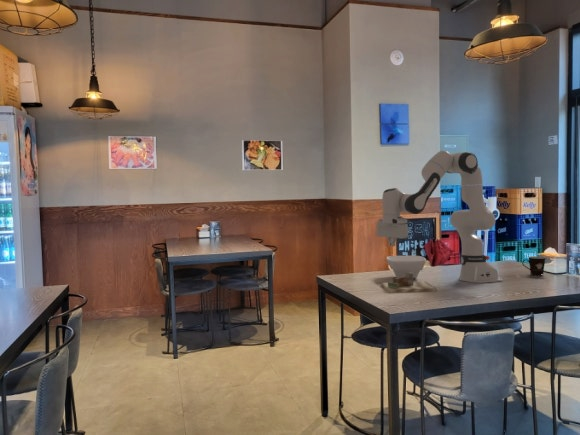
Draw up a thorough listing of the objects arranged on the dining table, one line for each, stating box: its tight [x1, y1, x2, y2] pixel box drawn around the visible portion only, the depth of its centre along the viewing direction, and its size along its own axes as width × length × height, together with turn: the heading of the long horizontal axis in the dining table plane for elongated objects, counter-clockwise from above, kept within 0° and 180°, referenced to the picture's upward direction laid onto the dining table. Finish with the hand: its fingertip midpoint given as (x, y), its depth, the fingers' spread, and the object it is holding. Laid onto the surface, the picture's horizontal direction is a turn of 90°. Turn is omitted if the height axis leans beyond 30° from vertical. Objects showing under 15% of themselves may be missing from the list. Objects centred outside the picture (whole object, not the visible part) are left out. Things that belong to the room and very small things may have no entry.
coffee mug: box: [522, 256, 546, 276], centre depth 273 cm, size 12×9×10 cm
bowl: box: [386, 255, 427, 279], centre depth 272 cm, size 22×22×12 cm
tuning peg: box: [392, 272, 414, 286], centre depth 242 cm, size 12×4×6 cm, turn 118°
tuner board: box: [380, 281, 438, 294], centre depth 243 cm, size 24×18×4 cm
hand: (391, 246), depth 244 cm, fingers closed
